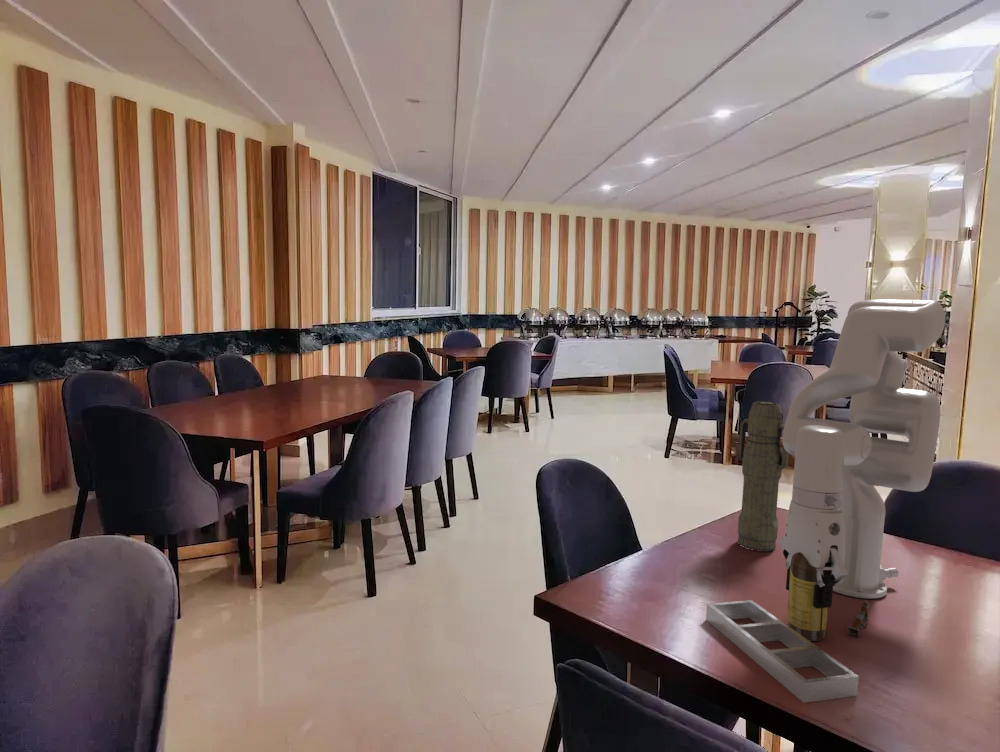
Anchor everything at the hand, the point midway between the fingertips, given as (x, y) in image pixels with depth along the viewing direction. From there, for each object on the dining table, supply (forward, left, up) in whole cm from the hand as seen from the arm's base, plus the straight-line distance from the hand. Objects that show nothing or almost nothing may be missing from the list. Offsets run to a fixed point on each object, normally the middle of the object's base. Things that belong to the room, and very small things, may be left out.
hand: (807, 597), depth 115 cm
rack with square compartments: (+10, +5, -7) cm, 13 cm away
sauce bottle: (0, 0, -7) cm, 7 cm away
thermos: (-19, -41, -7) cm, 46 cm away
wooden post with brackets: (-11, 0, -7) cm, 13 cm away
